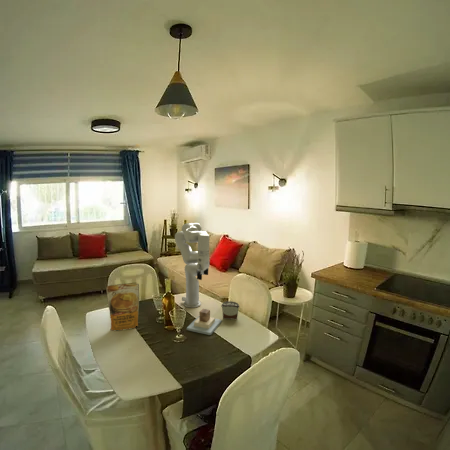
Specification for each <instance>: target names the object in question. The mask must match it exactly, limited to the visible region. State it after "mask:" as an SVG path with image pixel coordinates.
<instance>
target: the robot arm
mask: <svg viewBox="0 0 450 450" xmlns="http://www.w3.org/2000/svg"><path fill="white" fill-rule="evenodd" d="M174 239H175V240H174V241H175V244H176V246H177V248H178V250H179V251H180V255H181V257H182V260H183V263H184V264H185V265H184V273H185V296H182V297H181V301H183V306H184V307H186V308H188V309H189V308H190V309H191V308H195V309H196V308H198V307H200V306H201V305H202V302H201V301H200V282H199V280H200V281H202V279H203V275H206V276H208V275H209V267H210V264H211V263H210V235H209V234H208V232H207V231H205V230H202V225H201V224H200V223H199V222H187V223H184V224H183V225H181V231H177V232H176V233H174ZM188 243H191V244H193V243H197V250H193V249H192V247H191V246H190V245H189V244H188Z"/></svg>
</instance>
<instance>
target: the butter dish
mask: <svg viewBox="0 0 450 450" xmlns="http://www.w3.org/2000/svg"><path fill="white" fill-rule="evenodd" d="M222 320H223V319H221V318H215V317H214V316H213V317H212V316H210V319H209V320H208V321H207V322H203V321H199V315H198V316H197V317H196V318H195V319H194V320H193V321H192V322H191V323H190V324H189V325H188V326H187V327H186V331H189V332H194V333H199V334H204V335H206V336H207V335H208V336H211V335H212V334H213V333H214V331H216V330H217V328H218V327H219V325H221V324H222Z"/></svg>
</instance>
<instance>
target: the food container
mask: <svg viewBox="0 0 450 450" xmlns="http://www.w3.org/2000/svg"><path fill="white" fill-rule="evenodd" d="M220 306H221V307H220V308H221V309H222V311H221V312H222V320H224V319H225V320H226V319H227V320H238V316H239V315H238V314H239V309H240V305H239V303H238V302H236V301H230V300H229V301H225V302H222V303H221V305H220Z"/></svg>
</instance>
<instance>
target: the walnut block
mask: <svg viewBox="0 0 450 450" xmlns="http://www.w3.org/2000/svg"><path fill="white" fill-rule="evenodd" d="M198 316H199V321H203V322H207V321H208V320H209V319H210V317H211V309H207V308H202V309H200V311H199V314H198Z"/></svg>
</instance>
